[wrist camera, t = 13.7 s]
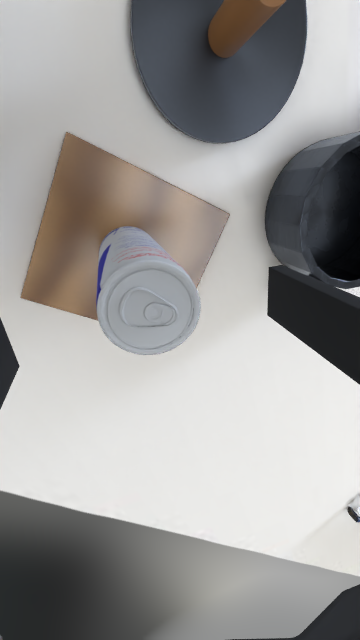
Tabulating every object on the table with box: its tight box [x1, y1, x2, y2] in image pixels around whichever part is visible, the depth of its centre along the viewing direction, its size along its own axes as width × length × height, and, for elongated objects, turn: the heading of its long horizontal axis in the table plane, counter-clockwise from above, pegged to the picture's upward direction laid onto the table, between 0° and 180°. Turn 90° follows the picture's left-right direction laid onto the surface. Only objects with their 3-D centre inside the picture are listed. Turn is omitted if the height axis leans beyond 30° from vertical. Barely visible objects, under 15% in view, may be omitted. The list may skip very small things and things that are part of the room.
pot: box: [265, 132, 360, 289], centre depth 30 cm, size 14×19×6 cm
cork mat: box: [21, 132, 230, 321], centre depth 29 cm, size 16×15×1 cm
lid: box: [131, 0, 307, 143], centre depth 21 cm, size 15×15×9 cm
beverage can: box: [96, 226, 201, 355], centre depth 22 cm, size 6×6×15 cm
